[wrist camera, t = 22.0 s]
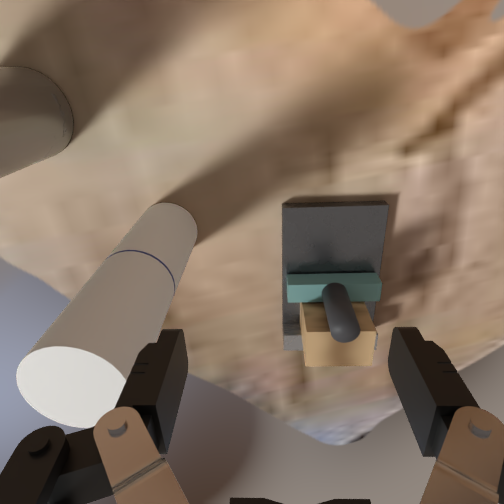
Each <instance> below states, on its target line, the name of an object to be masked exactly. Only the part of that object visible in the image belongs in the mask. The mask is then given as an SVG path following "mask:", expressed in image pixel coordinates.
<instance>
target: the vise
mask: <svg viewBox="0 0 504 504" xmlns="http://www.w3.org/2000/svg"><path fill="white" fill-rule="evenodd" d="M388 209H389V205H388V204H387V202H386V201H361V202H326V203H291V204H282V310H283V345H284V350H303V343H302V336H301V328H300V302H294V303H288V298H287V274H333V273H377V275H378V276H379V275H380V267H381V260H382V253H383V245H384V238H385V231H386V223H387V216H388ZM364 302H365V305H366V307H367V310H368V312H369V314H370V317H371V319H372V322H373V319H374V311H375V304H376V301H364ZM373 324H374V323H373ZM375 329H376V328H375ZM377 339H378V333H377V332H376V339H375V346H374V350H376V346H377Z"/></svg>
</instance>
